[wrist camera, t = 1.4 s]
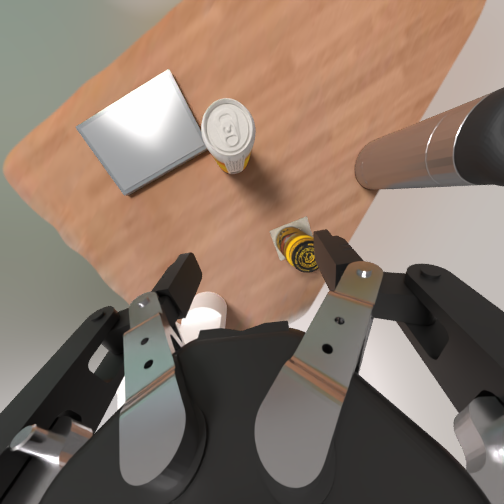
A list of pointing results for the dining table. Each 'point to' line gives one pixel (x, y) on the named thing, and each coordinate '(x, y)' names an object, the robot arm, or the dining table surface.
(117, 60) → the dining table surface
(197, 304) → the base with upright slab
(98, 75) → the dining table surface
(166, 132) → the grey flat slab
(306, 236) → the condiment
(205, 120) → the beer can
